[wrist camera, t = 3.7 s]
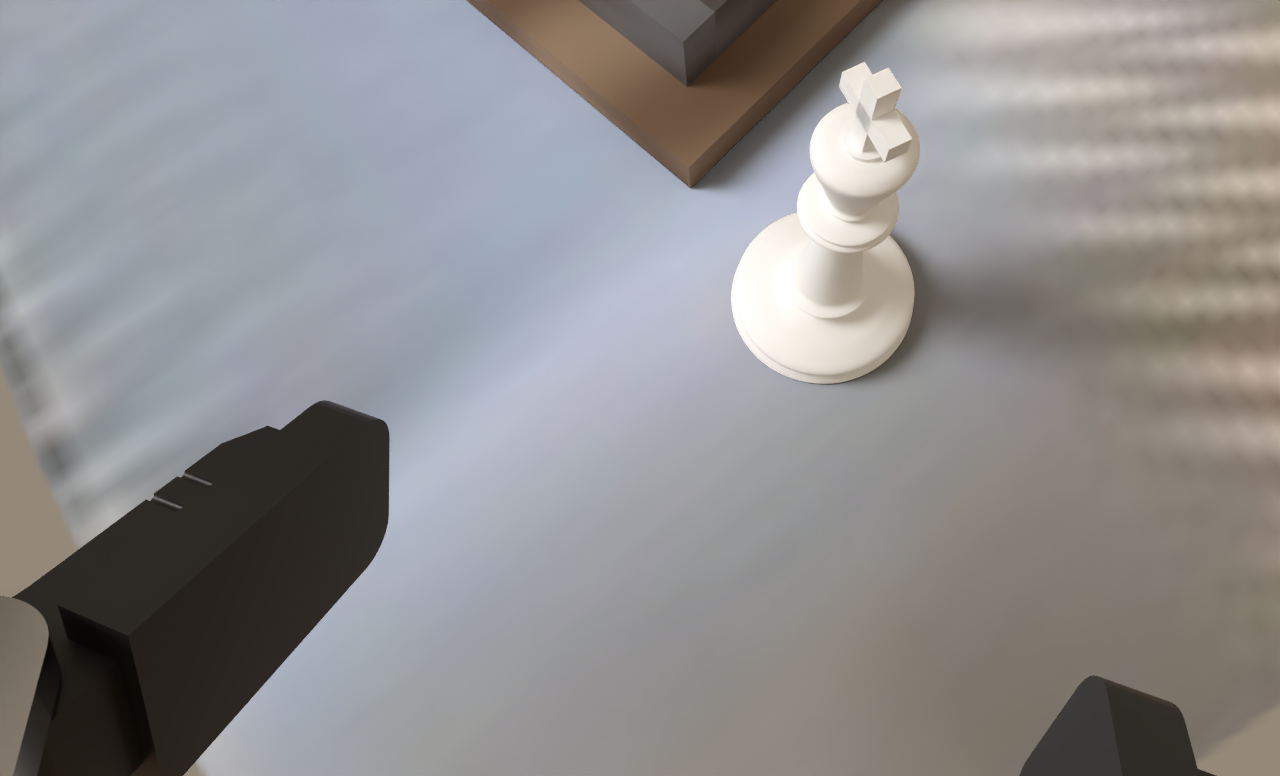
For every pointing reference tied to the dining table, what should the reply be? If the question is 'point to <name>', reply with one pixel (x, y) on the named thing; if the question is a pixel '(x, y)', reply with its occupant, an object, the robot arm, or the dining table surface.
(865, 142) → the chess piece
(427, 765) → the dining table surface
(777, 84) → the walnut stand
